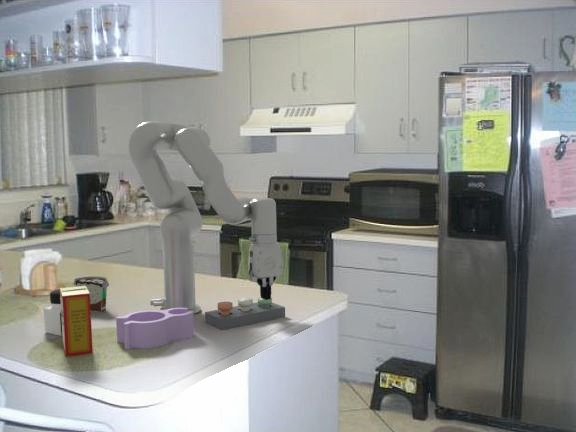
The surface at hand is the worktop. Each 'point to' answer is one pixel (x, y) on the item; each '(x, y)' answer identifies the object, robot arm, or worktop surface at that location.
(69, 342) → the baking soda box
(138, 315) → the clip
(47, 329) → the medicine bottle
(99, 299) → the food container
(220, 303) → the terracotta button
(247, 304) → the ivory button
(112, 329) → the worktop surface
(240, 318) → the button panel
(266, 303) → the sage button
